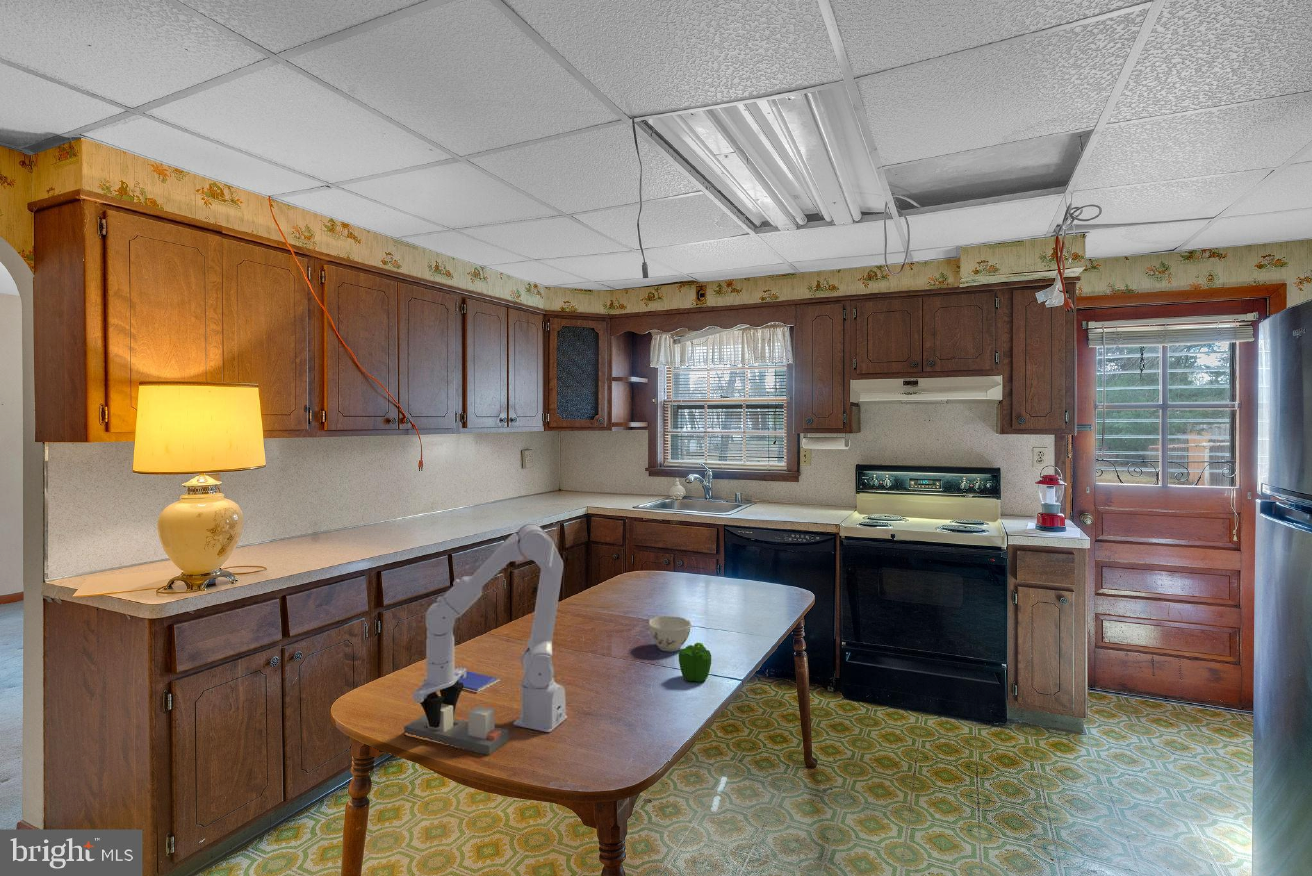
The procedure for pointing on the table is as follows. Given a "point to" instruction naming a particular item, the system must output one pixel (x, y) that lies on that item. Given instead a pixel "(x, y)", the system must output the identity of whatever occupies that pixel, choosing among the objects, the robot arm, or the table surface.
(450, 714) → the plug
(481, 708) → the slotted gray plate
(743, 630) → the table surface
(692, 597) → the table surface
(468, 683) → the blue book
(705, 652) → the bell pepper
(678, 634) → the teacup
